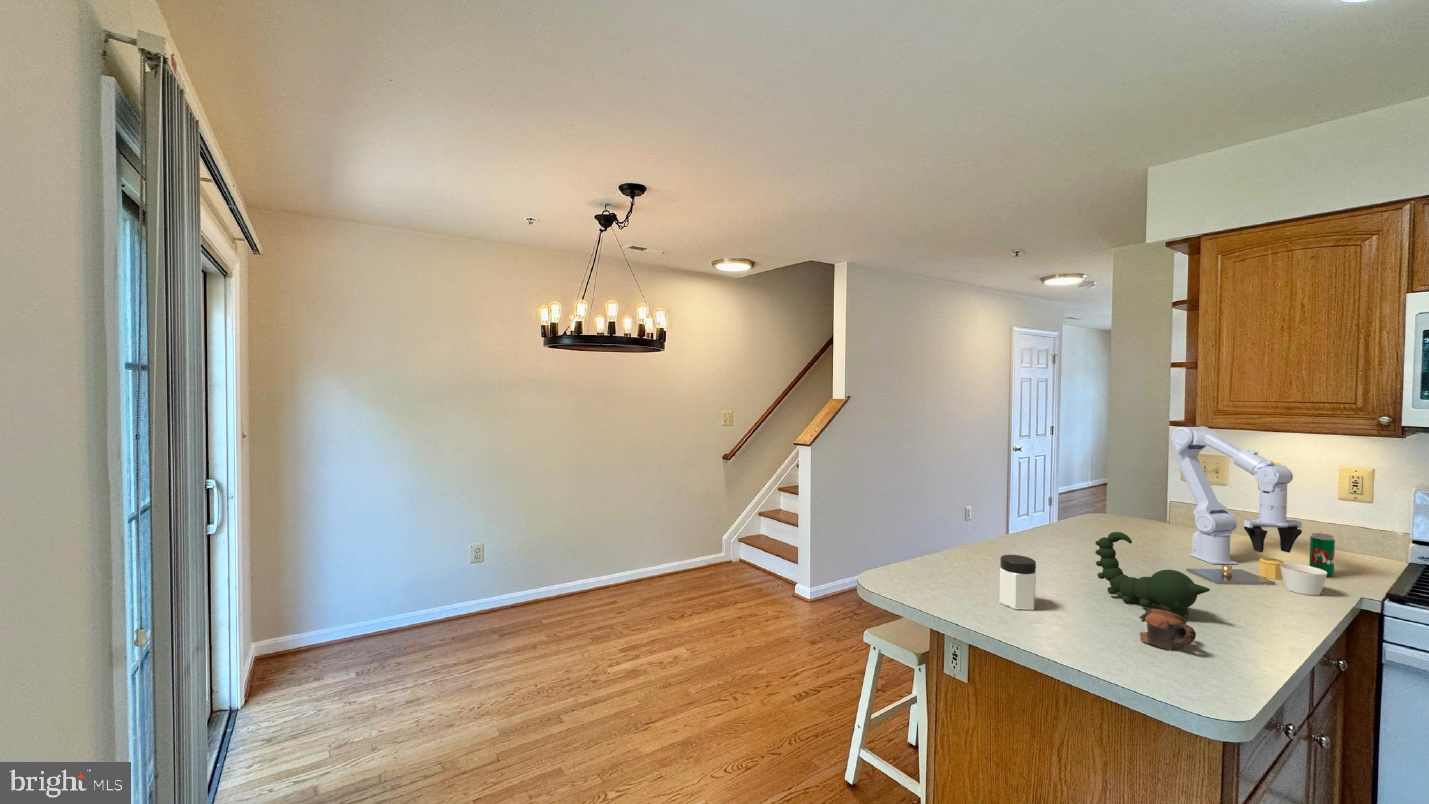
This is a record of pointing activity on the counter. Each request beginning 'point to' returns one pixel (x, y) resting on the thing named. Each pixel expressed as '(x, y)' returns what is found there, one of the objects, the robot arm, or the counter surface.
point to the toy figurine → (1146, 581)
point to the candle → (1303, 578)
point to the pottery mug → (1166, 629)
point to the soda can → (1322, 552)
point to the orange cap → (1270, 568)
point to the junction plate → (1235, 577)
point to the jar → (1017, 581)
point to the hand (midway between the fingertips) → (1271, 551)
